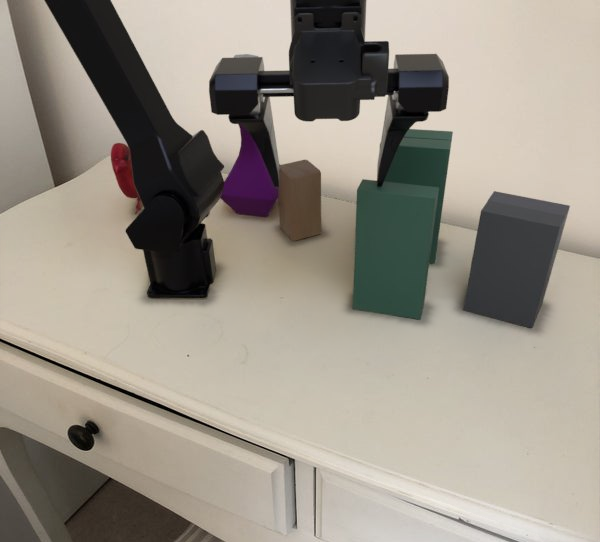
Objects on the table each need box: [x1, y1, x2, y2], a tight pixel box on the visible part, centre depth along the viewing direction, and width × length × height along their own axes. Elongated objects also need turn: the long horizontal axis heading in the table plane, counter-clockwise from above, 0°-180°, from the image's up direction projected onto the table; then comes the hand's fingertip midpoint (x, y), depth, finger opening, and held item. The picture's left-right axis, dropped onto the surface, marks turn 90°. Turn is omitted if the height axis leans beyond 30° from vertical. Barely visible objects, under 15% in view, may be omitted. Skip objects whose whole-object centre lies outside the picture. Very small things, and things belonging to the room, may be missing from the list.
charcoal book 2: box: [487, 190, 571, 314], centre depth 63 cm, size 7×2×11 cm, turn 62°
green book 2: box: [352, 178, 439, 320], centre depth 62 cm, size 7×2×13 cm, turn 73°
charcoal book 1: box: [462, 200, 565, 329], centre depth 61 cm, size 7×2×11 cm, turn 62°
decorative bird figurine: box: [110, 142, 143, 214], centre depth 82 cm, size 3×18×10 cm, turn 0°
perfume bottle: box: [220, 53, 281, 218], centre depth 77 cm, size 8×8×18 cm
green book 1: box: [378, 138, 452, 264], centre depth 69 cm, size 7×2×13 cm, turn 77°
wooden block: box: [278, 159, 322, 242], centre depth 76 cm, size 4×4×8 cm
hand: (328, 185), depth 58 cm, fingers open, 9 cm apart
